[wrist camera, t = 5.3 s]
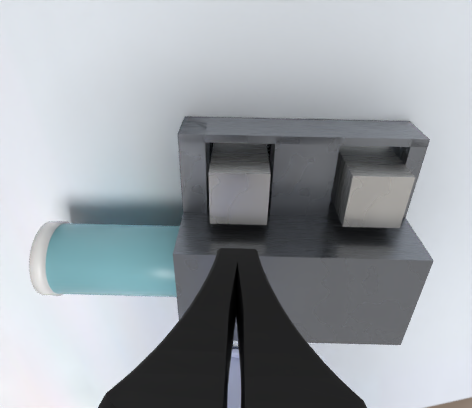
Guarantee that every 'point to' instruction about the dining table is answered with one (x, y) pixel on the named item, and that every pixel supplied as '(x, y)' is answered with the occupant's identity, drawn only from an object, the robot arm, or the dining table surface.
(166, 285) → the cylinder
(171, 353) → the robot arm
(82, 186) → the dining table surface
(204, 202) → the housing
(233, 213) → the plunger
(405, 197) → the plunger
